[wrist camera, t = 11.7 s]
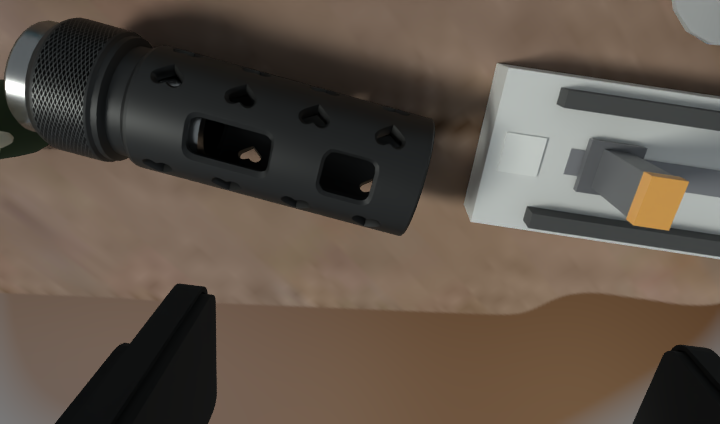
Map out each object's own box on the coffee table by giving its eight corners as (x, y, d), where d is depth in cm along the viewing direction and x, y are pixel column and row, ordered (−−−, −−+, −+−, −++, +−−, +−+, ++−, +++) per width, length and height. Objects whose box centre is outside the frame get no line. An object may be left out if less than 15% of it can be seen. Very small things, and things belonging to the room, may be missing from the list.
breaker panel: (496, 63, 38) (509, 67, 34) (825, 112, 38) (875, 122, 34) (463, 204, 42) (471, 222, 38) (756, 248, 42) (794, 271, 38)
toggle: (589, 138, 35) (639, 167, 28) (643, 146, 35) (707, 177, 28) (573, 189, 37) (616, 229, 30) (624, 196, 37) (680, 238, 30)
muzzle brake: (397, 208, 43) (399, 262, 33) (87, 125, 42) (-4, 156, 32) (430, 104, 39) (443, 131, 30) (92, 10, 38) (-8, 6, 29)
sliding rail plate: (561, 87, 34) (569, 90, 33) (811, 124, 34) (830, 129, 33) (522, 220, 38) (528, 228, 37) (747, 253, 38) (761, 263, 37)
